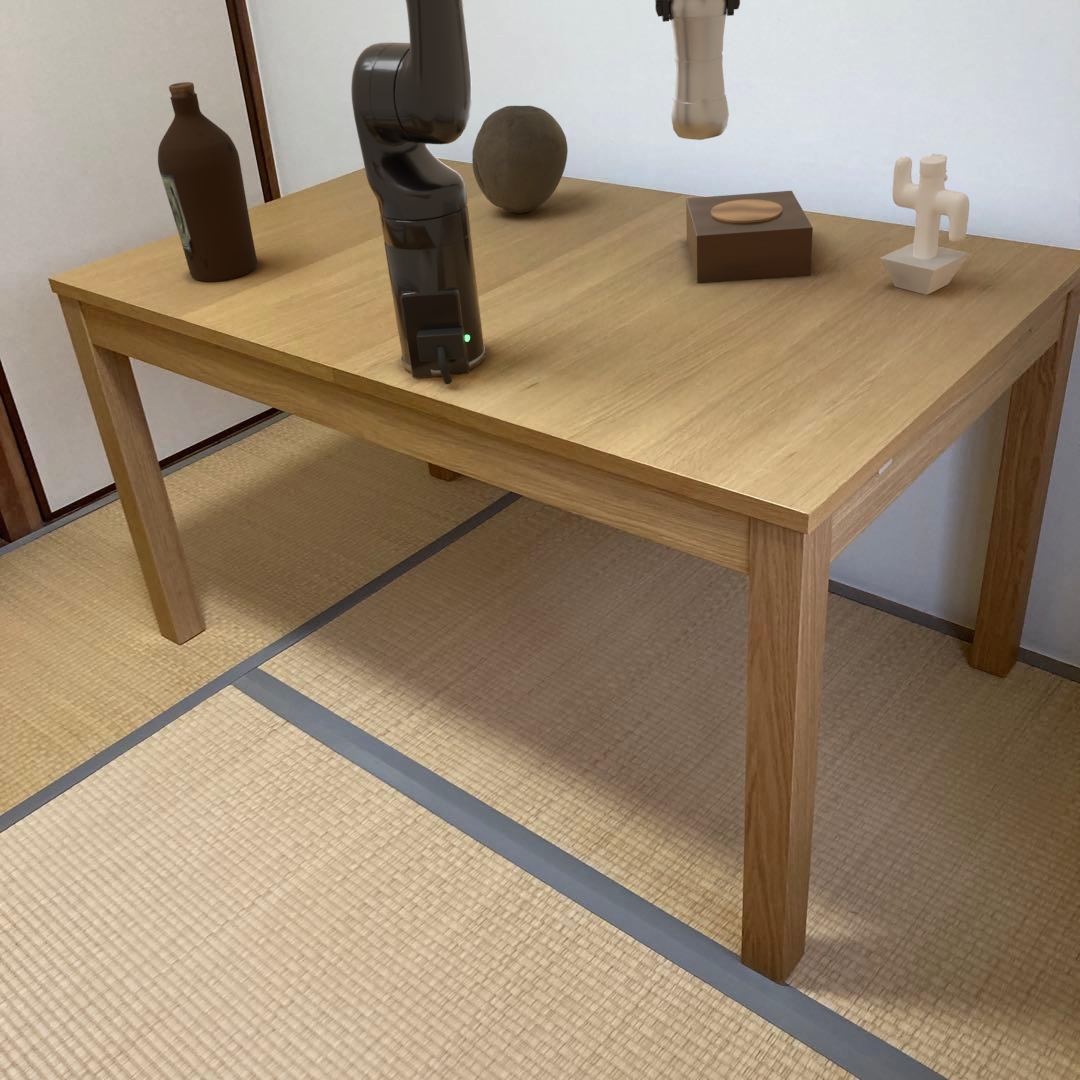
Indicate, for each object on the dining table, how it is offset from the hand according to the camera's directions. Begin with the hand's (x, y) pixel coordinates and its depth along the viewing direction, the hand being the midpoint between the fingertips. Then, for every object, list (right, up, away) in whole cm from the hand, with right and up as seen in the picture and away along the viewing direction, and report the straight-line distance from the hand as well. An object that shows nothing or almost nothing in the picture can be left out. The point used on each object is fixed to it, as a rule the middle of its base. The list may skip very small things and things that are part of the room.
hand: (697, 17), depth 129 cm
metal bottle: (+1, -11, +7) cm, 13 cm away
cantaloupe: (-20, -8, +48) cm, 52 cm away
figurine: (+28, -28, +8) cm, 41 cm away
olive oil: (-62, -20, +34) cm, 74 cm away
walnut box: (+9, -22, +21) cm, 32 cm away
